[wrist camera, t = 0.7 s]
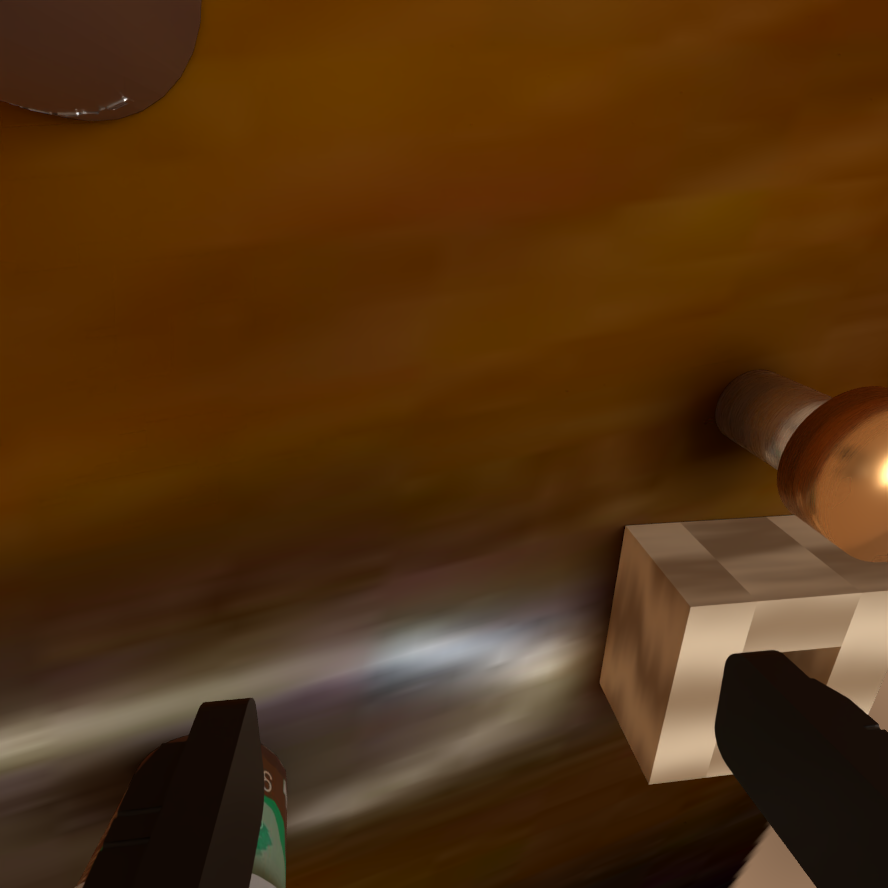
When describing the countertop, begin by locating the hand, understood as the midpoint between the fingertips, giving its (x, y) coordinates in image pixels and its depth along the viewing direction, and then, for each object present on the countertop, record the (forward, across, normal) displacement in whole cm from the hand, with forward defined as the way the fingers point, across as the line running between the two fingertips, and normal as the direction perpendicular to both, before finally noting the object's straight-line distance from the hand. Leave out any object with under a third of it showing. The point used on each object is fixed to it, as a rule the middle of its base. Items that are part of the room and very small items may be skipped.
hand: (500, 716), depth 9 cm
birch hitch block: (+21, -18, +13) cm, 30 cm away
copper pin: (+19, -18, 0) cm, 27 cm away
